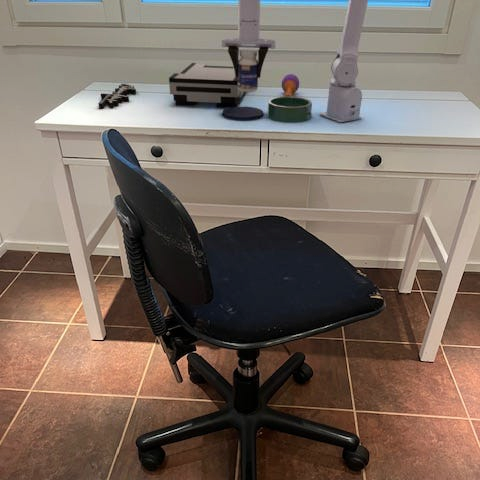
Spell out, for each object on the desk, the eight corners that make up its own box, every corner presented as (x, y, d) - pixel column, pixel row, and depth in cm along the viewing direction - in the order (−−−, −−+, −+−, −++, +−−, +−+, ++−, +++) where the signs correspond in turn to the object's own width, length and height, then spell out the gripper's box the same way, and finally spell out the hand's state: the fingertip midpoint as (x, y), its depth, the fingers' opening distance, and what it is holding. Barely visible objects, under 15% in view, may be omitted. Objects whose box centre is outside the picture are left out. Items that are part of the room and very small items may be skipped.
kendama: (276, 92, 150) (281, 73, 164) (279, 111, 153) (283, 91, 168) (295, 89, 148) (298, 70, 163) (297, 109, 152) (300, 89, 167)
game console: (250, 86, 173) (250, 61, 168) (237, 110, 148) (237, 80, 143) (193, 84, 175) (192, 59, 170) (171, 107, 150) (168, 77, 145)
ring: (318, 118, 141) (320, 103, 139) (283, 124, 136) (284, 109, 133) (293, 108, 149) (294, 94, 147) (259, 114, 144) (260, 99, 142)
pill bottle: (240, 92, 136) (240, 52, 130) (235, 88, 141) (235, 49, 135) (260, 91, 138) (261, 51, 132) (254, 87, 142) (255, 48, 136)
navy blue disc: (272, 117, 142) (272, 113, 141) (235, 123, 137) (235, 119, 136) (249, 107, 150) (249, 104, 150) (214, 112, 145) (214, 109, 145)
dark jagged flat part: (111, 83, 168) (139, 83, 168) (111, 88, 169) (140, 88, 169) (90, 103, 146) (123, 103, 146) (91, 108, 147) (124, 109, 147)
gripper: (277, 19, 131) (274, 74, 140) (224, 18, 133) (224, 73, 141) (275, 22, 126) (273, 79, 134) (220, 21, 127) (221, 78, 135)
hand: (248, 76), depth 137 cm, fingers closed on pill bottle, 5 cm apart
